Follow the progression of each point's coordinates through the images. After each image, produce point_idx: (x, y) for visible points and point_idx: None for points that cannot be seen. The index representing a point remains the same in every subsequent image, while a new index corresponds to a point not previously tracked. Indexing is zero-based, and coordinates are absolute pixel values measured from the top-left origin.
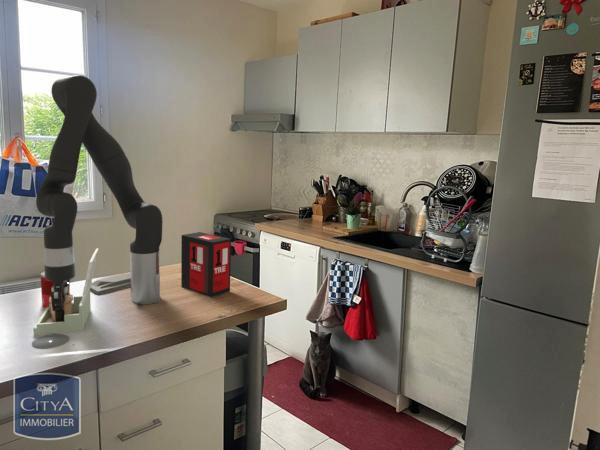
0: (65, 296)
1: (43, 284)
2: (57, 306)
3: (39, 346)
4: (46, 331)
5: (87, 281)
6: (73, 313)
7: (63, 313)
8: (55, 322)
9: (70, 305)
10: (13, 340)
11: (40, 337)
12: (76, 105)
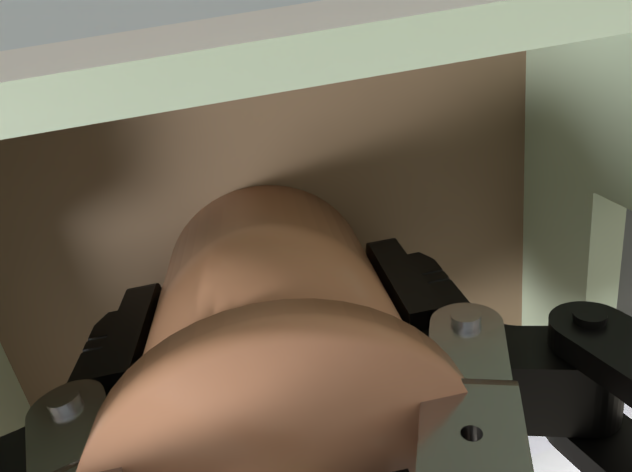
0: (526, 459)
1: None
2: (611, 407)
3: None
4: None
5: None
6: (4, 256)
7: (431, 288)
8: (599, 283)
9: (314, 279)
10: (558, 458)
11: (627, 311)
12: None
